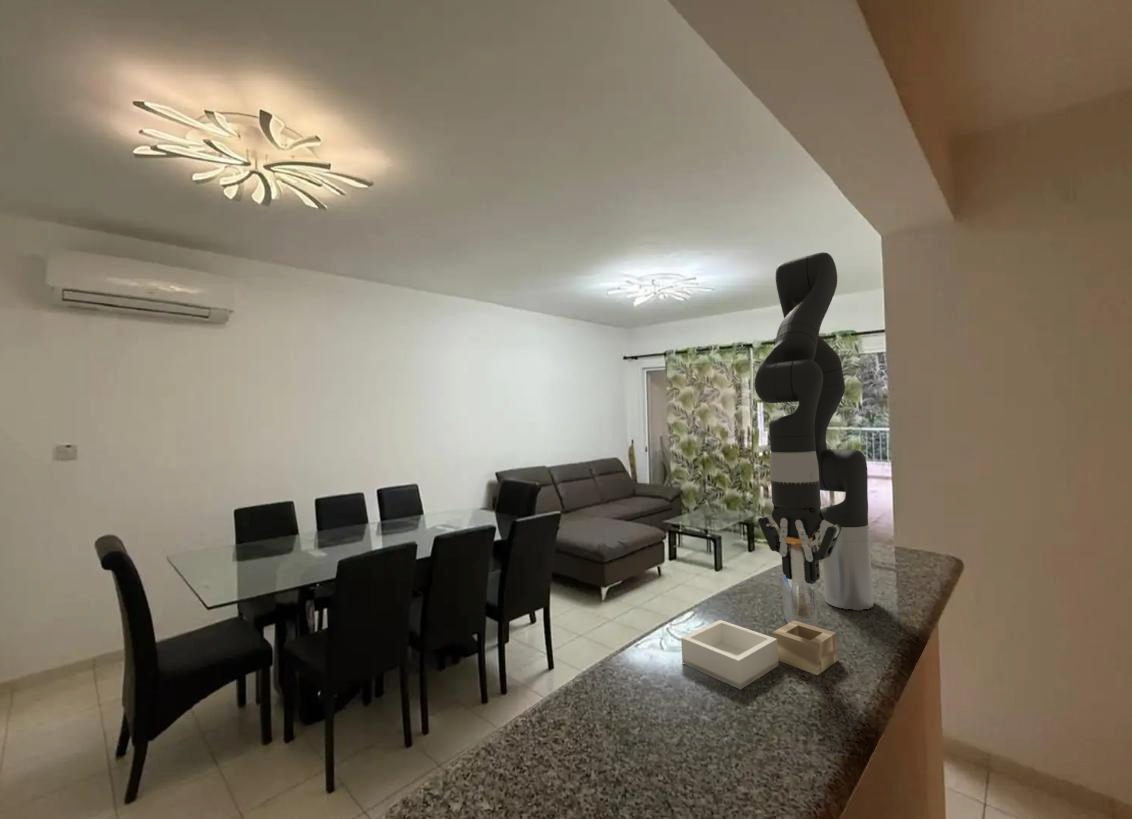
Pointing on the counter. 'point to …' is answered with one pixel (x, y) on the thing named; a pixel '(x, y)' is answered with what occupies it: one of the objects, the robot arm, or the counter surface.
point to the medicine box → (788, 605)
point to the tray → (730, 653)
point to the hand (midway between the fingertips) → (801, 579)
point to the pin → (799, 578)
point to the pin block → (806, 647)
